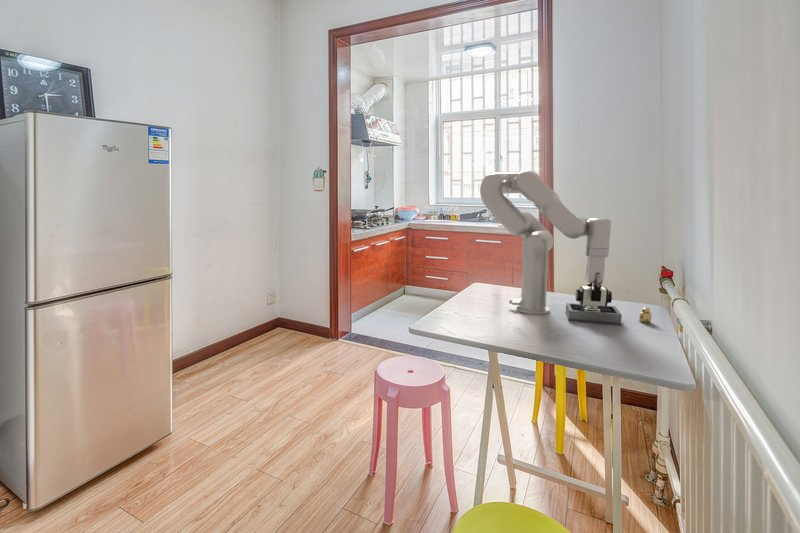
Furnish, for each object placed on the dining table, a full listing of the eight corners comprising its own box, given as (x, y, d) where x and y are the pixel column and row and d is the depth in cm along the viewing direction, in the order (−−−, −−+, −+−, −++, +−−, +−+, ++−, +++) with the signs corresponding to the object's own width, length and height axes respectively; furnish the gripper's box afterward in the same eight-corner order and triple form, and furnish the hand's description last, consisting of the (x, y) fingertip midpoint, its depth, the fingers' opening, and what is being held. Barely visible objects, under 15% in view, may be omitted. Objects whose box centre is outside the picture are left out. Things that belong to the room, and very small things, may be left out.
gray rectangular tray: (568, 321, 154) (569, 310, 153) (565, 311, 166) (565, 301, 166) (620, 325, 149) (621, 314, 148) (613, 314, 162) (614, 304, 161)
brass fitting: (640, 323, 152) (642, 309, 151) (638, 320, 155) (639, 306, 154) (651, 324, 151) (653, 310, 150) (648, 321, 154) (650, 307, 153)
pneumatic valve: (610, 319, 153) (613, 287, 151) (575, 317, 156) (578, 285, 154) (606, 314, 158) (609, 283, 156) (573, 312, 161) (575, 282, 159)
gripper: (582, 248, 162) (579, 291, 165) (589, 255, 145) (585, 303, 148) (604, 249, 160) (600, 293, 163) (613, 256, 143) (609, 304, 146)
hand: (593, 297), depth 155 cm, fingers open, 9 cm apart
